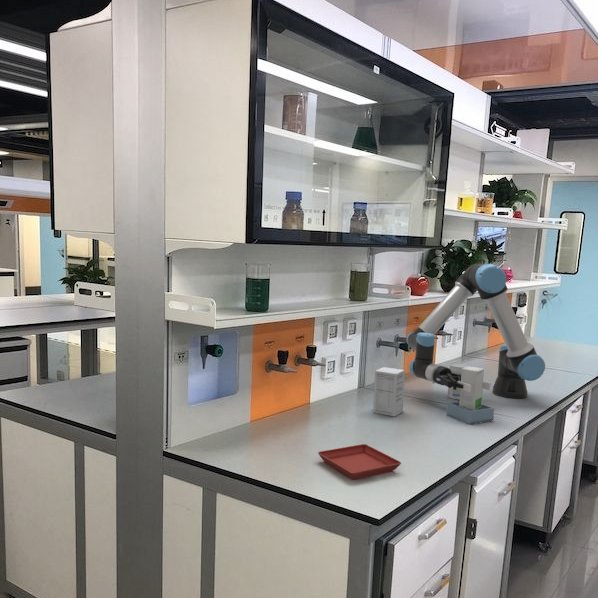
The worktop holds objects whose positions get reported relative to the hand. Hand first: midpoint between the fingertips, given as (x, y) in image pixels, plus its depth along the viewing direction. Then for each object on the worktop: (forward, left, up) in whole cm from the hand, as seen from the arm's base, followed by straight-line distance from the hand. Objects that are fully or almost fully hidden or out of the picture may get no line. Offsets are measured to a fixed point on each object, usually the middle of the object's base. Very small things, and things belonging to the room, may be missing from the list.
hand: (480, 387), depth 221 cm
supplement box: (+25, -23, -13) cm, 37 cm away
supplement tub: (-19, -29, -13) cm, 37 cm away
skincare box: (0, -4, -9) cm, 10 cm away
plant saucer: (+69, +19, -14) cm, 73 cm away
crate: (0, -4, -13) cm, 14 cm away
